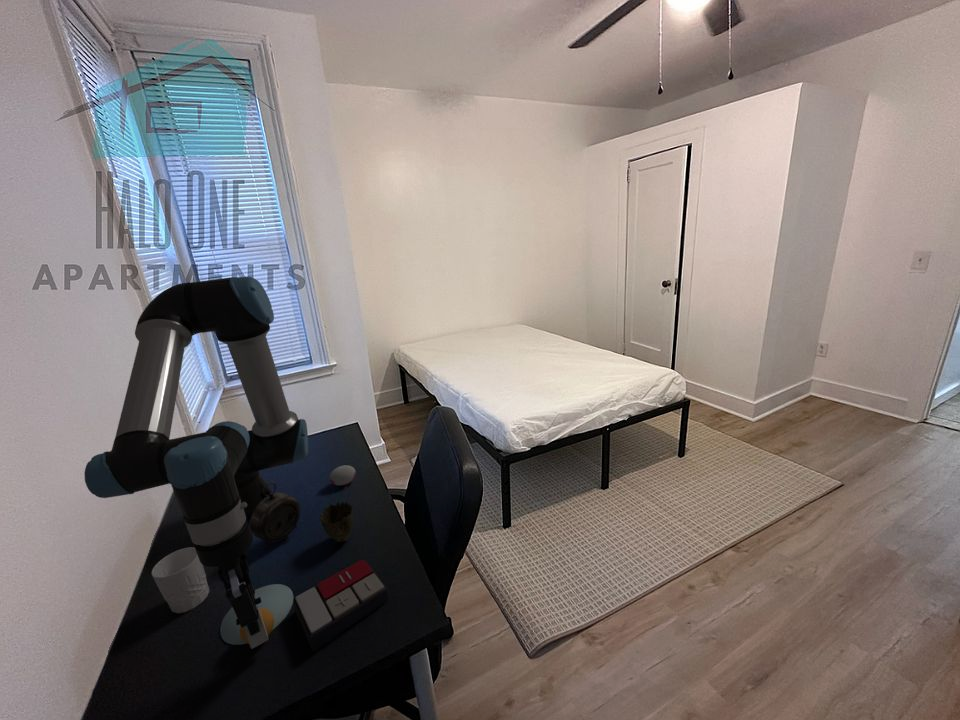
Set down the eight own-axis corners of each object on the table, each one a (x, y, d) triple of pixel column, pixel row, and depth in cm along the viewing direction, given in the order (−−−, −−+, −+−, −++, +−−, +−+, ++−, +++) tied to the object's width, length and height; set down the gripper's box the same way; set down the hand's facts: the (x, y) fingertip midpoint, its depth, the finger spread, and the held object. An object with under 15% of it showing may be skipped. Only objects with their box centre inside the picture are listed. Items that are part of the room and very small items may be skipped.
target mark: (213, 615, 78) (213, 614, 78) (281, 574, 87) (280, 574, 86) (229, 659, 69) (229, 659, 69) (303, 609, 77) (302, 608, 77)
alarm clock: (296, 522, 103) (281, 469, 99) (309, 527, 101) (294, 473, 96) (256, 550, 95) (238, 494, 90) (269, 558, 92) (251, 499, 87)
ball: (243, 649, 72) (235, 618, 73) (275, 631, 75) (267, 601, 76) (245, 653, 67) (237, 620, 69) (279, 633, 71) (271, 602, 72)
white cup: (177, 622, 77) (160, 583, 74) (161, 606, 82) (144, 568, 79) (219, 592, 84) (205, 554, 81) (202, 578, 88) (188, 542, 85)
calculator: (387, 585, 77) (308, 634, 68) (390, 603, 78) (313, 653, 69) (364, 555, 85) (291, 595, 76) (367, 571, 86) (295, 612, 77)
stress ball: (357, 485, 123) (351, 464, 125) (359, 482, 116) (354, 461, 118) (332, 493, 119) (327, 472, 121) (333, 491, 113) (327, 468, 114)
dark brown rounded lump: (348, 551, 91) (341, 523, 89) (320, 548, 93) (313, 521, 91) (363, 528, 98) (357, 502, 96) (337, 526, 100) (330, 500, 98)
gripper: (250, 541, 59) (288, 656, 66) (244, 502, 70) (277, 604, 76) (191, 567, 56) (237, 686, 62) (194, 521, 66) (233, 627, 73)
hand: (259, 641), depth 69 cm, fingers closed
